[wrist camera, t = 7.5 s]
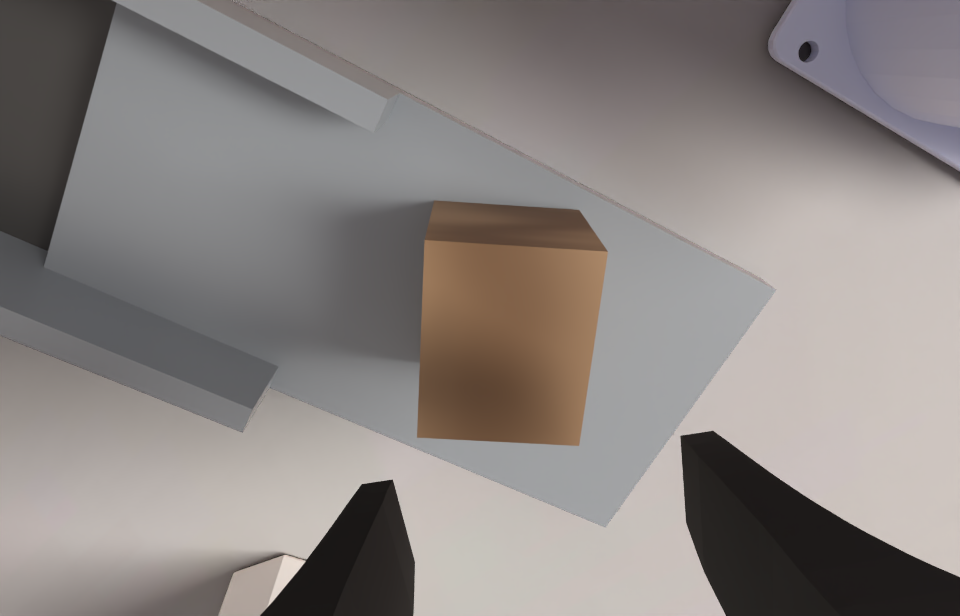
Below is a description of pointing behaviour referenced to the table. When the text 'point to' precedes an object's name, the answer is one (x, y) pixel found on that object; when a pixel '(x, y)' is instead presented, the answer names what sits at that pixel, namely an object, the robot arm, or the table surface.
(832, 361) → the table surface
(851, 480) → the table surface
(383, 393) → the trap channel
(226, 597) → the salt shaker
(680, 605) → the table surface
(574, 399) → the walnut block
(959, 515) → the table surface
